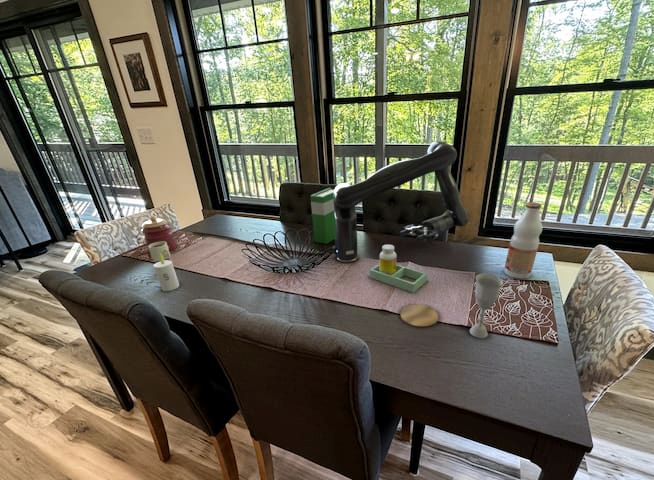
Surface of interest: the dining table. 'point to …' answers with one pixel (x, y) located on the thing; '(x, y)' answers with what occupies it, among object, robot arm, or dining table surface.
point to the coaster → (419, 315)
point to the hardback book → (323, 216)
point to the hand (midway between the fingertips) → (408, 237)
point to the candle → (166, 274)
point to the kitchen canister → (158, 232)
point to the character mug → (157, 248)
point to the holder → (400, 273)
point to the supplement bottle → (387, 260)
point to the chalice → (485, 299)
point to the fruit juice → (524, 243)
